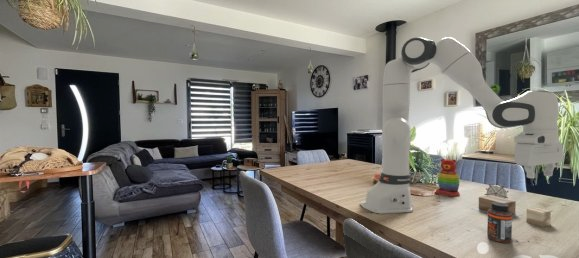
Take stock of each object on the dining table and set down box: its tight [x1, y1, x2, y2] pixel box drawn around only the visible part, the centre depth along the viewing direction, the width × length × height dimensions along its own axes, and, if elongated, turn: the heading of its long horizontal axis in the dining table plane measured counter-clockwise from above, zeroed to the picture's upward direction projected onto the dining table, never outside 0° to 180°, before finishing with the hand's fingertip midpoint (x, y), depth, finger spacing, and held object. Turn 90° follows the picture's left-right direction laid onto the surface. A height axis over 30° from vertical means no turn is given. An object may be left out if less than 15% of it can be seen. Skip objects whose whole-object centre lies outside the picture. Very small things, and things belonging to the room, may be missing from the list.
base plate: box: [470, 206, 524, 218], centre depth 103 cm, size 12×12×1 cm
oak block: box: [526, 206, 552, 227], centre depth 91 cm, size 4×4×6 cm
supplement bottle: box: [486, 202, 513, 244], centre depth 82 cm, size 6×6×11 cm
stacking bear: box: [434, 158, 461, 198], centre depth 132 cm, size 11×10×18 cm
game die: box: [484, 183, 509, 199], centre depth 119 cm, size 9×8×10 cm
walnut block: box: [478, 195, 517, 215], centre depth 103 cm, size 7×9×5 cm
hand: (539, 176), depth 91 cm, fingers open, 8 cm apart
